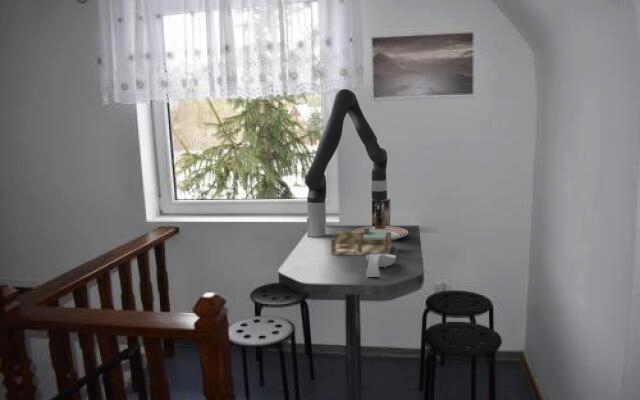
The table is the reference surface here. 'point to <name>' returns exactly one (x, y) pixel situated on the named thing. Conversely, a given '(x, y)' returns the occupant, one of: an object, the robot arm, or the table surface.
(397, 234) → the dinner plate
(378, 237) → the sliding cover
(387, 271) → the table surface
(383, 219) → the walnut block
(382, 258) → the spoon rest
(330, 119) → the robot arm
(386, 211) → the coffee box
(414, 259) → the table surface
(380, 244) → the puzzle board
